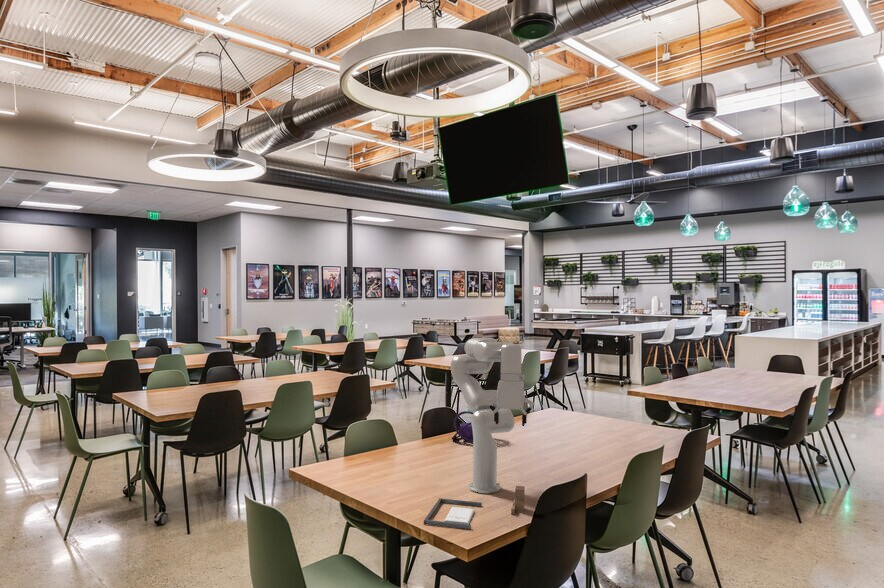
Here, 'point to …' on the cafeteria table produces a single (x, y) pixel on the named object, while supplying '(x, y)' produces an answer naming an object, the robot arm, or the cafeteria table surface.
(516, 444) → the cafeteria table surface
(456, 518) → the external hard drive
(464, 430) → the decorative bottle
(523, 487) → the pusher
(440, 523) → the bay
